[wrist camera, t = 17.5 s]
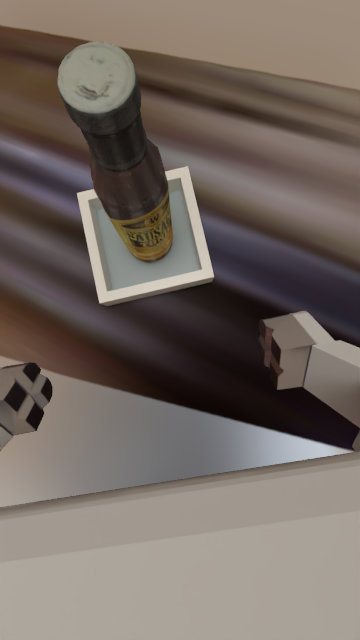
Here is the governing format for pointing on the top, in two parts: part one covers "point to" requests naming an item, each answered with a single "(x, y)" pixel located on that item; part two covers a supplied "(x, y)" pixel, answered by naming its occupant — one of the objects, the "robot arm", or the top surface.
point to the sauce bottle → (119, 146)
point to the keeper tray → (138, 276)
